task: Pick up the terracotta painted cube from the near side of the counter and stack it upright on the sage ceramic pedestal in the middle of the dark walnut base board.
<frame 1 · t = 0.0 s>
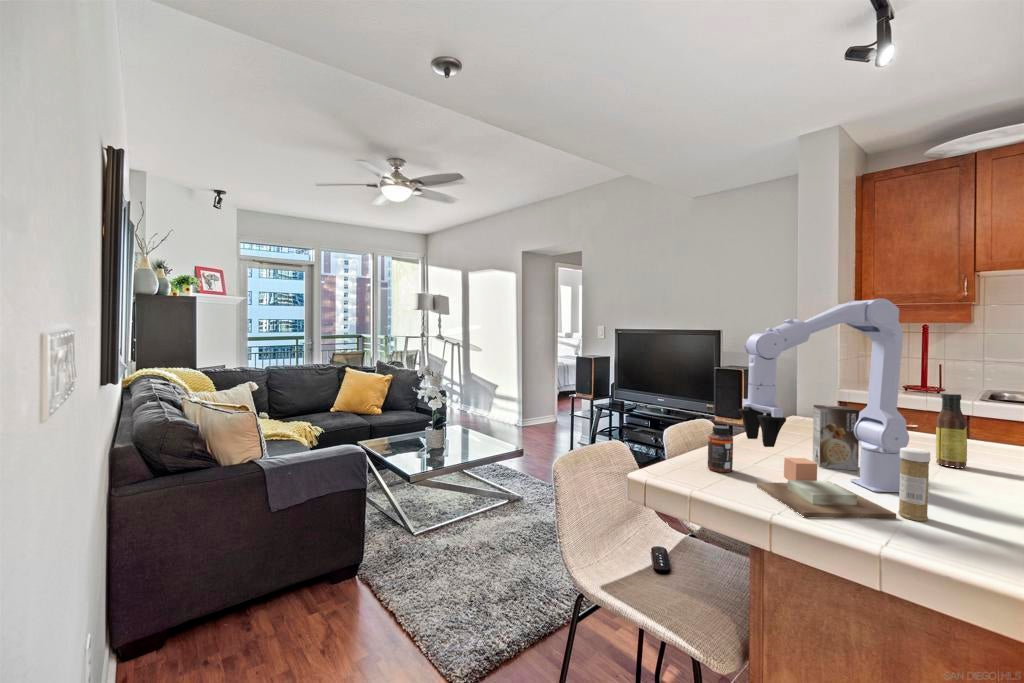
hand: (760, 442, 112), 10 cm above the countertop, tool pointing down, fingers open, 7 cm apart
supplement bottle: (719, 470, 124), on the countertop
coffee box: (834, 467, 129), on the countertop
sprinkles bottle: (912, 518, 94), on the countertop
terracotta cube: (799, 481, 116), on the countertop
sauce bottle: (950, 466, 131), on the countertop
walnut base board: (820, 501, 102), on the countertop
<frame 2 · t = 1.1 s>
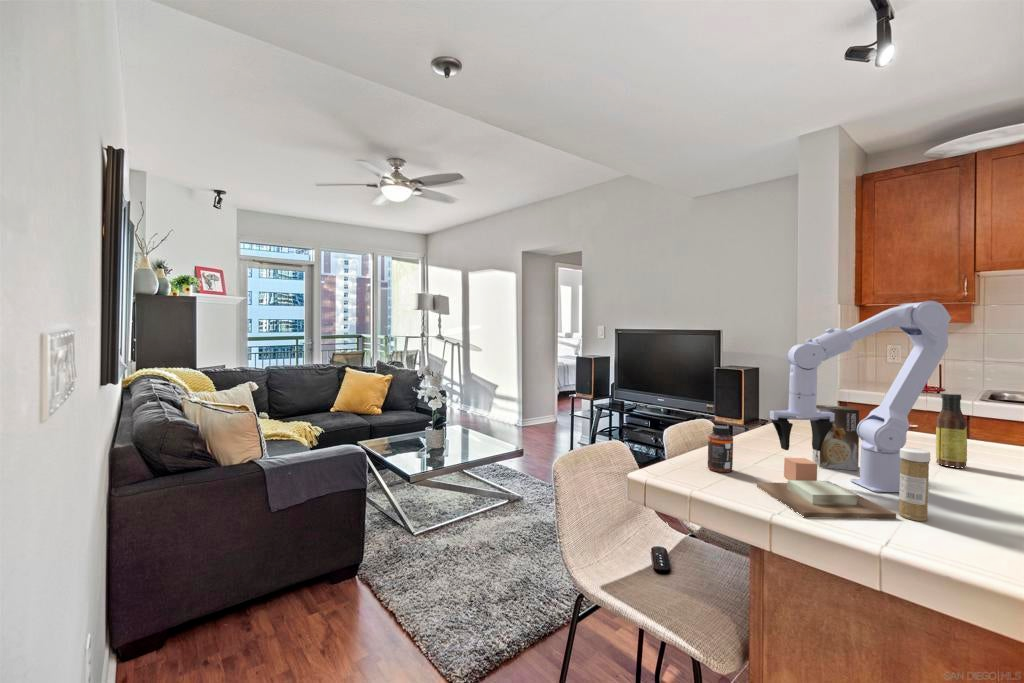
hand: (800, 449, 116), 8 cm above the countertop, tool pointing down, fingers open, 7 cm apart
nothing on the countertop moved.
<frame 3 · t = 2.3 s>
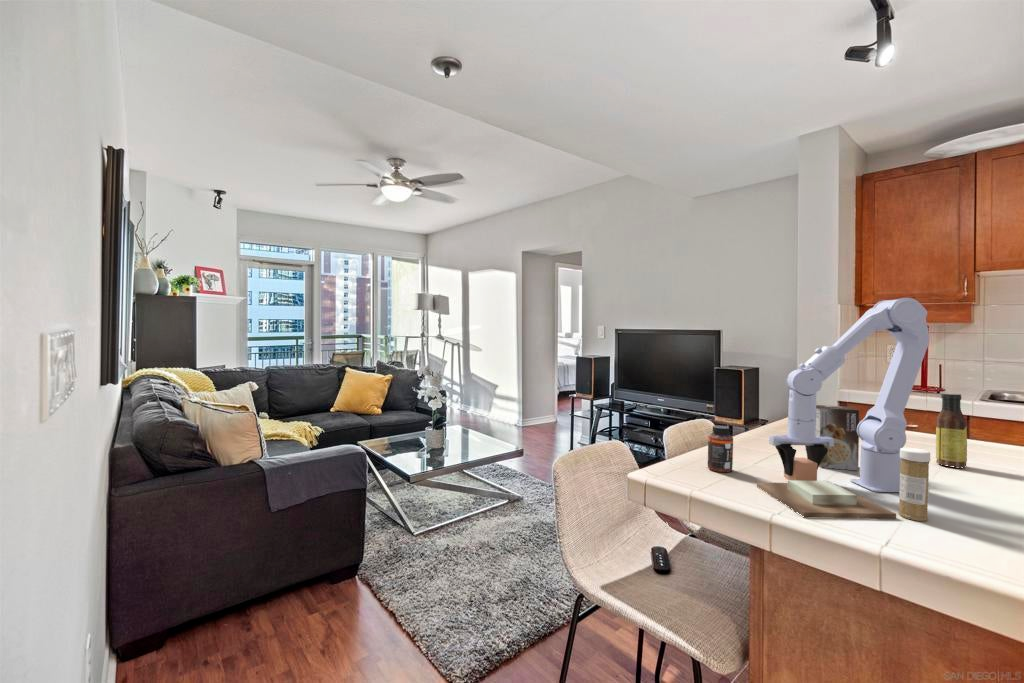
hand: (800, 474, 116), 1 cm above the countertop, tool pointing down, fingers closed on terracotta cube, 5 cm apart
terracotta cube: (799, 480, 116), on the countertop, touching gripper
everything else where it was.
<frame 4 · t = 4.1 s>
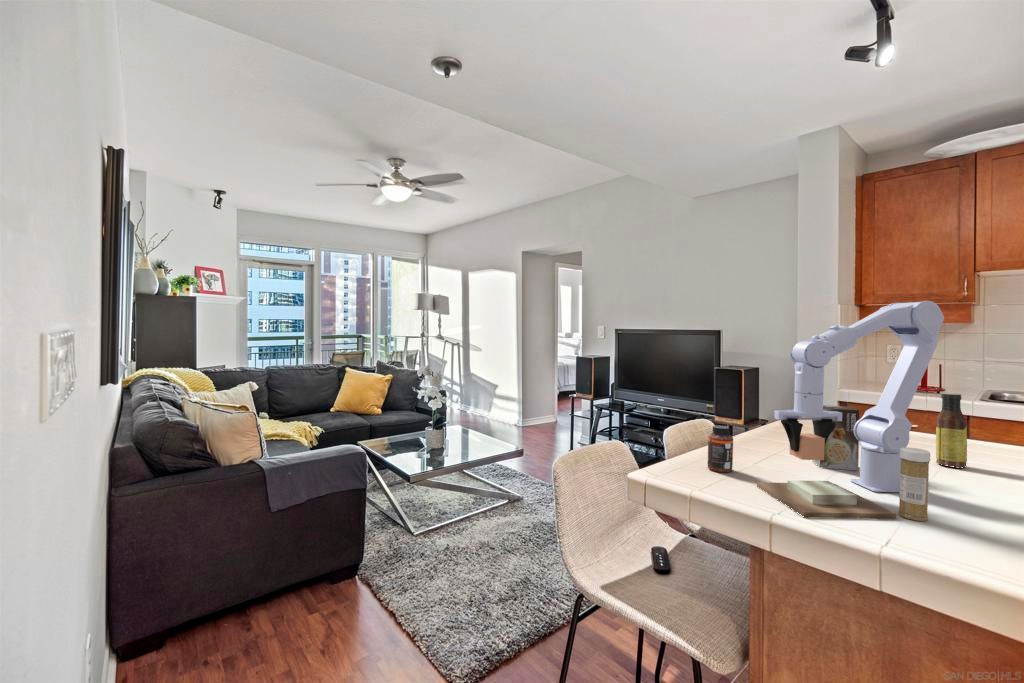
hand: (806, 450, 111), 8 cm above the countertop, tool pointing down, fingers closed on terracotta cube, 5 cm apart
terracotta cube: (806, 456, 111), point 7 cm above the countertop, touching gripper
everything else where it was.
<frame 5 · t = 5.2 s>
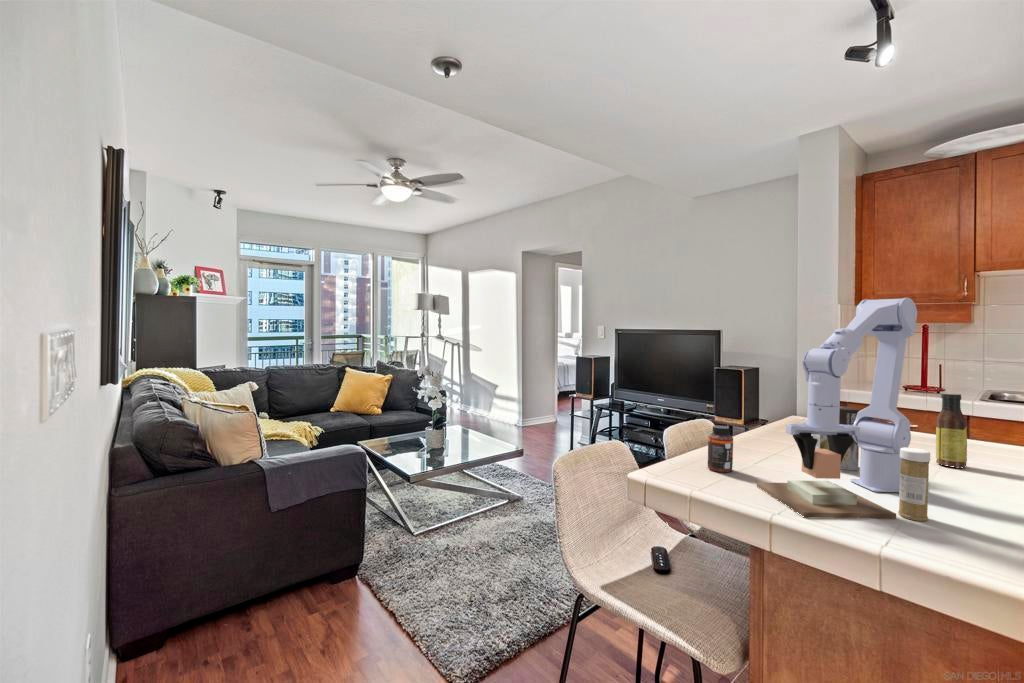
hand: (821, 468, 102), 7 cm above the countertop, tool pointing down, fingers closed on terracotta cube, 5 cm apart
terracotta cube: (820, 474, 102), point 6 cm above the countertop, touching gripper
everything else where it was.
when the fingers open (5 cm above the countertop, at t = 6.1 s): terracotta cube stays where it is, resting on walnut base board.
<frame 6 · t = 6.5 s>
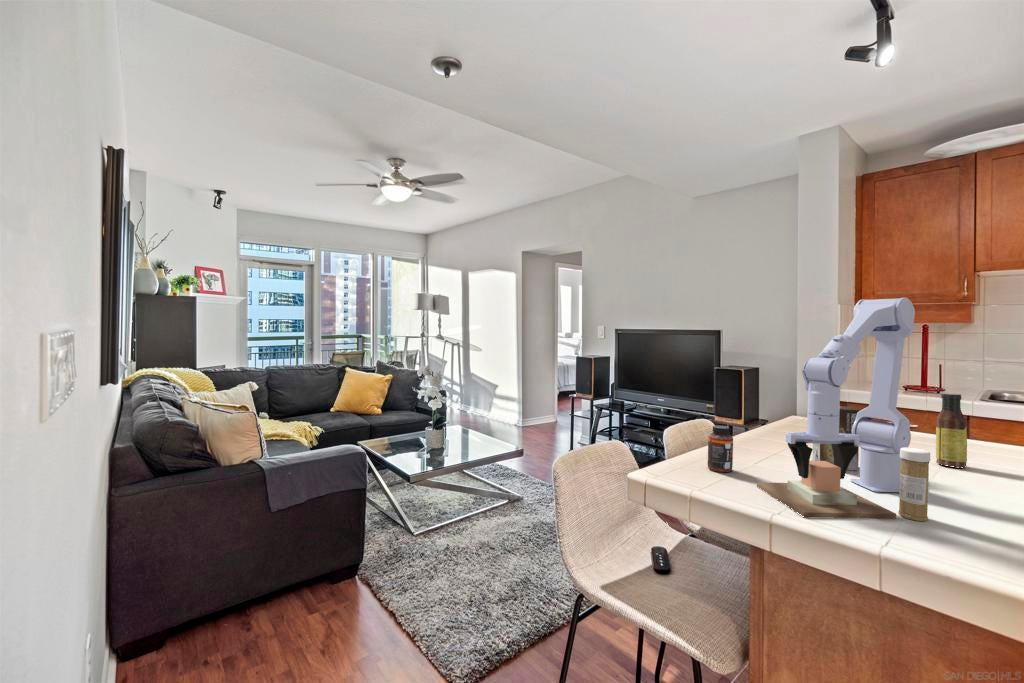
hand: (821, 477, 102), 5 cm above the countertop, tool pointing down, fingers open, 7 cm apart
terracotta cube: (820, 487, 102), point 3 cm above the countertop, touching walnut base board
everything else where it was.
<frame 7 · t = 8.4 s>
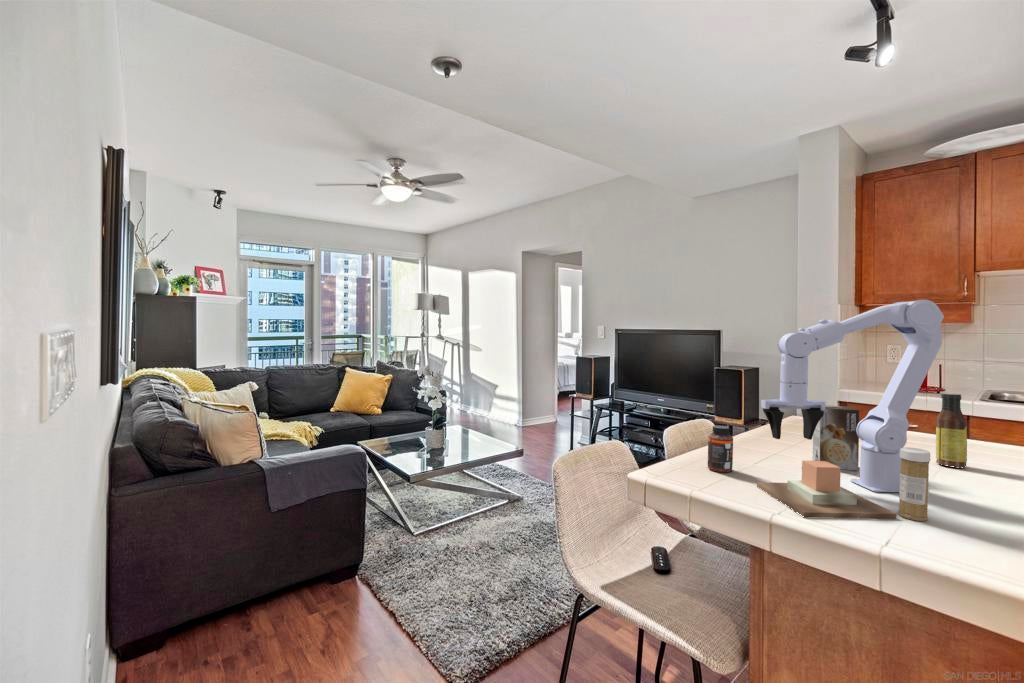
hand: (791, 438, 116), 10 cm above the countertop, tool pointing down, fingers open, 7 cm apart
nothing on the countertop moved.
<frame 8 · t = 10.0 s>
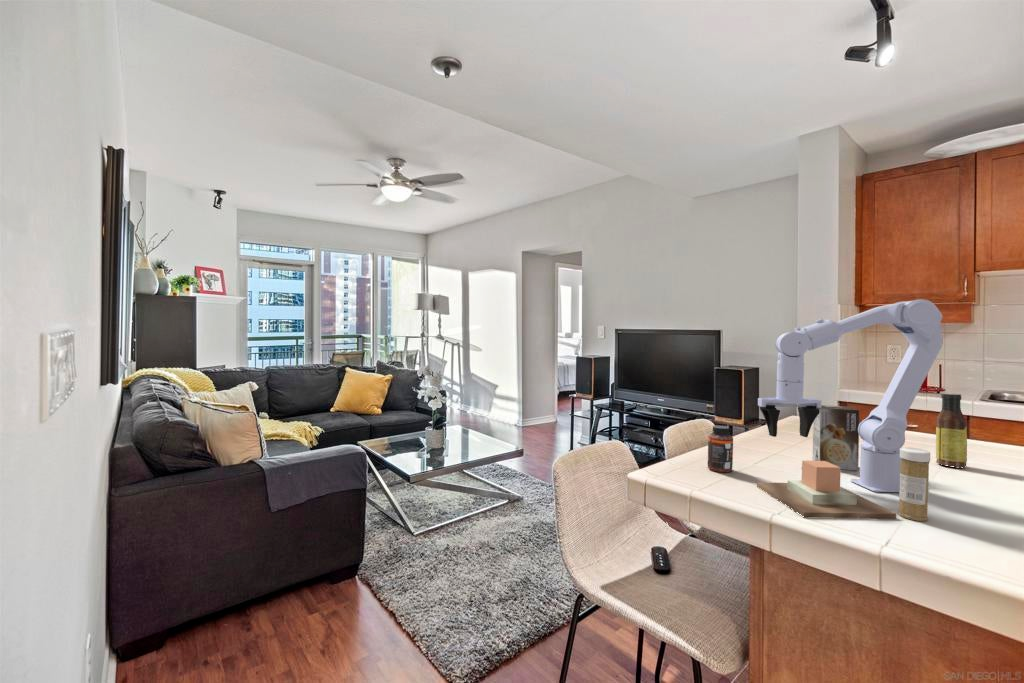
hand: (788, 436, 118), 10 cm above the countertop, tool pointing down, fingers open, 7 cm apart
nothing on the countertop moved.
at the end: terracotta cube 0.2 cm off-centre on the walnut base board, point 3.0 cm above the walnut base board's base; terracotta cube tilted 0°; the gripper is holding nothing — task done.
